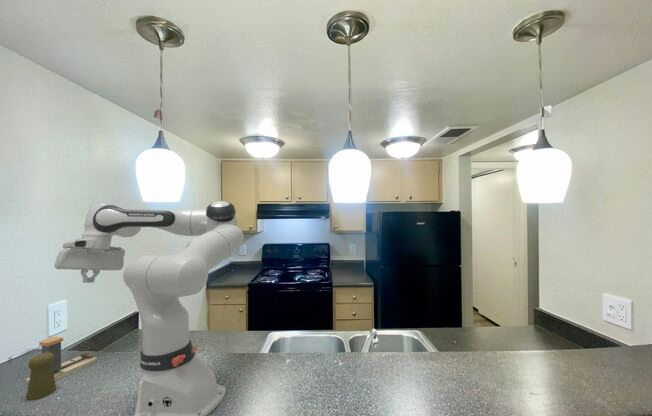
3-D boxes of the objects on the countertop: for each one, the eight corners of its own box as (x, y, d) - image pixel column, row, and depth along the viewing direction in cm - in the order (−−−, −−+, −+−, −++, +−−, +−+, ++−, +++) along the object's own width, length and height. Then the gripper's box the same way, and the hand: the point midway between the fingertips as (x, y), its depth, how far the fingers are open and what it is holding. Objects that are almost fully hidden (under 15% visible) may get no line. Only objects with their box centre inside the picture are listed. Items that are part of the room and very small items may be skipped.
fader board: (97, 361, 97) (97, 354, 97) (43, 386, 82) (43, 379, 82) (80, 358, 99) (80, 352, 99) (25, 383, 84) (25, 375, 84)
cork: (36, 401, 75) (36, 360, 76) (20, 399, 76) (20, 359, 77) (61, 388, 81) (61, 350, 81) (46, 386, 82) (46, 349, 83)
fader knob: (63, 368, 89) (63, 337, 89) (47, 375, 85) (48, 343, 85) (54, 367, 90) (54, 336, 90) (39, 374, 86) (39, 342, 86)
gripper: (121, 248, 114) (115, 282, 111) (57, 242, 97) (48, 283, 93) (129, 247, 112) (124, 282, 108) (65, 241, 94) (56, 282, 90)
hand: (88, 282), depth 100 cm, fingers closed
